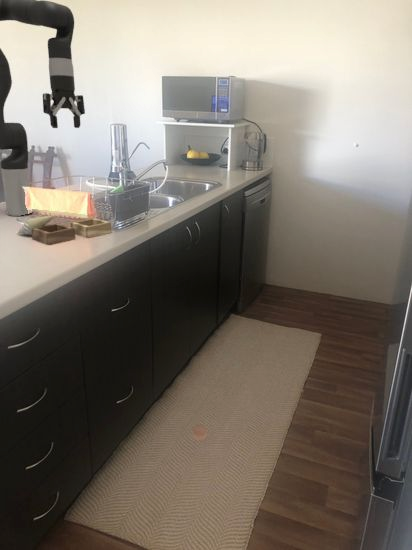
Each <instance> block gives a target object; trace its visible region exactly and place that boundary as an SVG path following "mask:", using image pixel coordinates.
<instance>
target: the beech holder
mask: <svg viewBox="0 0 412 550" xmlns="http://www.w3.org/2000/svg"><path fill="white" fill-rule="evenodd" d="M92 218H93V219H91V218H88V219H82V220H77V221H71V222H70V227H72V228H75V235H77V236H81V237H83V238H86V239H90V238H94V237H99V236H102V235H106V234H107V235H108V234H111V233H112V223H111V222H109V221H106V220H104V219H103V220H102V219H99V218H94V217H92Z"/></svg>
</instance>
